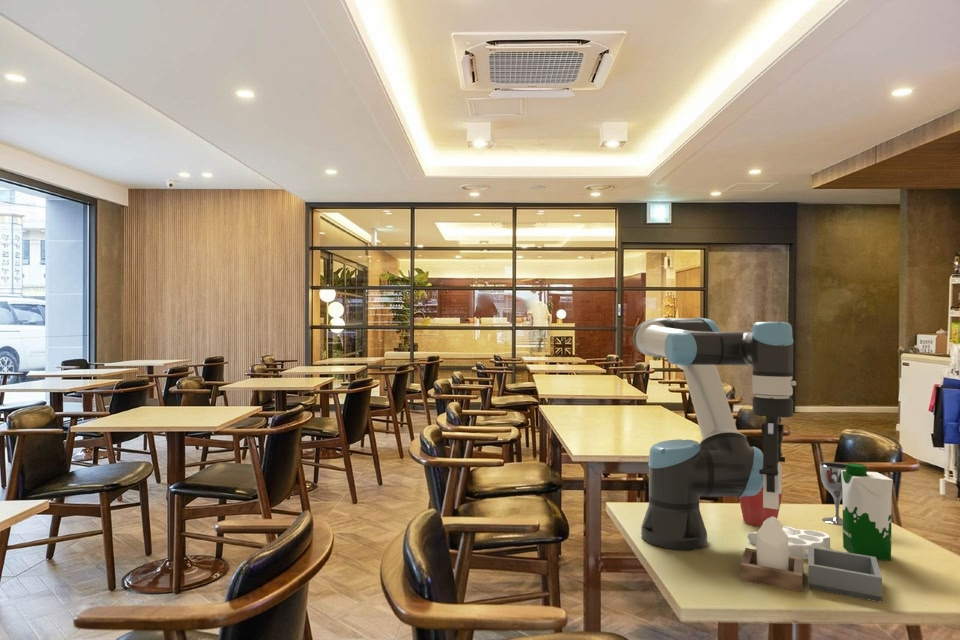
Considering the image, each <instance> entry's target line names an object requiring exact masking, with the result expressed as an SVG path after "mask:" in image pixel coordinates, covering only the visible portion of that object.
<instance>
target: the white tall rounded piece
mask: <svg viewBox="0 0 960 640" xmlns="http://www.w3.org/2000/svg"><path fill="white" fill-rule="evenodd" d="M756 532H757V534H756V545H755V547H756V550H757V565H759V566H764V567H770V568H775V569H781V570H786V571H788V563H789V562H788V560H789V558H788V557H789V552H788V536H787V535H786V533H785V532H784V531H783V529H782V525H781V521H780V520H779V518H778V517H777V518H776V517H773V516H772V517H770V518H767V519H766V520H765V521H764V522H763V525H762V526H761V527H759V529H758V530H757V531H756Z"/></svg>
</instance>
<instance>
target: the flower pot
mask: <svg viewBox="0 0 960 640" xmlns="http://www.w3.org/2000/svg"><path fill="white" fill-rule="evenodd" d="M783 491H784V489H783V488H782V494H779V510H778V509H771V508H763V487H762V489H761V491H760V492H759V493H758V494H757V495H755V496H742V497H738V500H739V504H740V510H741V514H742V519H743V522H744V521H745V522H744V523H746V524H749V525H751V526H754V525H755V527H759V528H761V526H762V525H763V522H764V521H765V520H766V519H767V518H770V517H772V516H773V517H776V518H777V519H778V517H779V512H780V508H781V502H782V498H783Z"/></svg>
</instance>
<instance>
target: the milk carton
mask: <svg viewBox="0 0 960 640" xmlns="http://www.w3.org/2000/svg"><path fill="white" fill-rule="evenodd" d="M845 464H846V470H841V477H842V489H843V497H842V519H843V526H842V547H843V548H844V549H845V550H846V552H848V553H854V554H860V555H866V556H872V557H876V559H877V561H879V560H880V561H890V562H891V561H892V491H893V485H894V484H893V481H894V480H893V479H892V478H890V477H888V476H886V475H884V474H882V473H879V472H877V471H867V465H865V464H861V463H853V462H849V463H845Z"/></svg>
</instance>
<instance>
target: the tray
mask: <svg viewBox="0 0 960 640" xmlns="http://www.w3.org/2000/svg"><path fill="white" fill-rule="evenodd" d="M807 560H808V562H807V563H808V564H807V566H808V567H807V568H808V569H807V571H808V572H807V575H808V577H807V581H808V583H807V588H808V589H811V590H816V591H821V592H826V593H831V594H837V595H842V596H847V597H850V598H852V597H853V598H855V599H856V598H857V599H862V598H863V599H862V600H867V599H870V600H869V601H872V600H875V601H874V602H877V601H882V602H883V578H882V573H881V570H880V567H879V563H878V560H877V559H876V557H872V556H866V555H860V554H854V553H850V552H849V551H840V550H834V549H830V550H829V549H823V548H817V547H811V546H809V552H808V559H807Z"/></svg>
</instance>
